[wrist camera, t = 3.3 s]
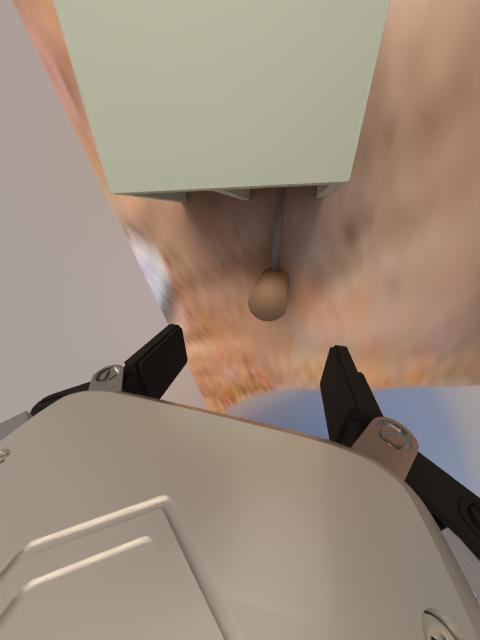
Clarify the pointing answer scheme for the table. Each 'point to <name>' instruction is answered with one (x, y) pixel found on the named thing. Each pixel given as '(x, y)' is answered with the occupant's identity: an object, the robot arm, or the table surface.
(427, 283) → the table surface
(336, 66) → the cubby shelf
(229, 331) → the table surface
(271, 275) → the corded block
